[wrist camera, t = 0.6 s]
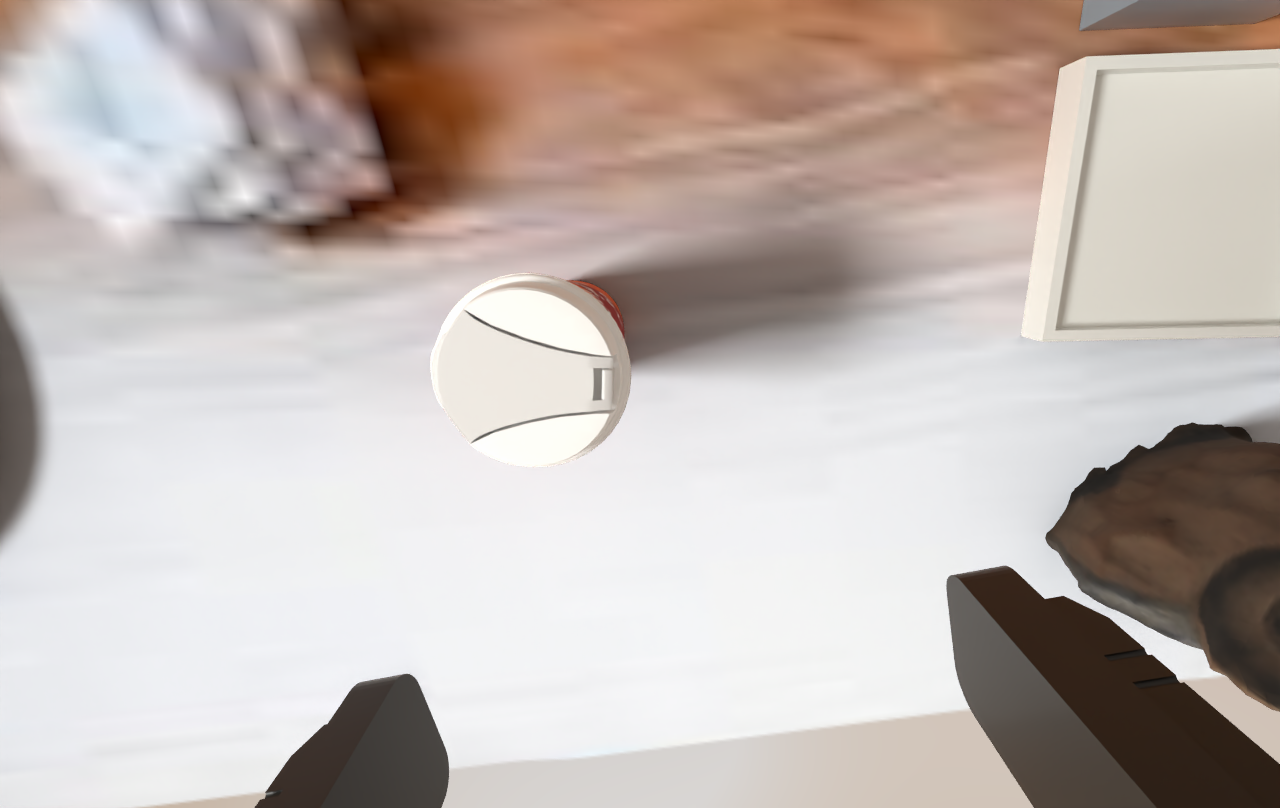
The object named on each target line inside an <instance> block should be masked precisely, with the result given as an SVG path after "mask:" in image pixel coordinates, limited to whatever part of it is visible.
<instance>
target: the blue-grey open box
mask: <svg viewBox="0 0 1280 808" xmlns="http://www.w3.org/2000/svg"><path fill="white" fill-rule="evenodd" d="M1279 14H1280V0H1084V3H1083V9H1082V16H1081V22H1080V29H1079V31H1085V30H1110V29H1135V28H1159V27H1184V26H1209V25H1233V24H1255V23H1257V22H1260V21H1263V20H1265V19H1268V18H1271V17H1274V16H1276V15H1279Z"/></svg>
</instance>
